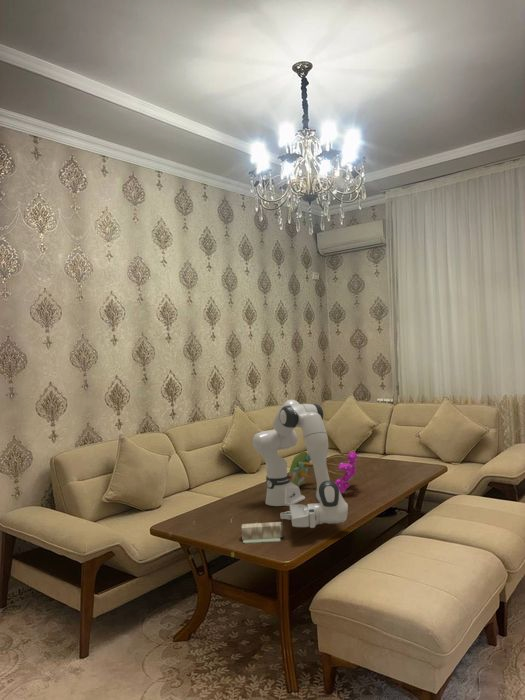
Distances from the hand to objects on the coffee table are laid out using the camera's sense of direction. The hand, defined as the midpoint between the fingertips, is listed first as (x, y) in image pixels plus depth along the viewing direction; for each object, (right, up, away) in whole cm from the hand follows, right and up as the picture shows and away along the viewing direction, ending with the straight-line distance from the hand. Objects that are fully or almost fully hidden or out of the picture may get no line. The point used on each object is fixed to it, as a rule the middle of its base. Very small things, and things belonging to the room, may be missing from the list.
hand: (280, 515), depth 230 cm
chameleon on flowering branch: (+28, -7, +67) cm, 73 cm away
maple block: (+1, -6, 0) cm, 6 cm away
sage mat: (-8, -9, 0) cm, 12 cm away
